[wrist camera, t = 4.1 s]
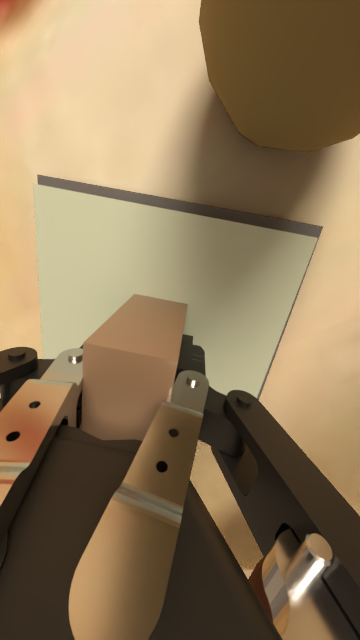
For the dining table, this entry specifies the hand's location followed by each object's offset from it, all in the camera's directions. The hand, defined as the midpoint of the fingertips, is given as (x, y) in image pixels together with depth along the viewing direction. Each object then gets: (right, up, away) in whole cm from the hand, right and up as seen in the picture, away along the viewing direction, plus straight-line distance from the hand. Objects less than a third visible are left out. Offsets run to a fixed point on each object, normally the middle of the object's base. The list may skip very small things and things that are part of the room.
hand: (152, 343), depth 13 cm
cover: (0, +1, +2) cm, 2 cm away
